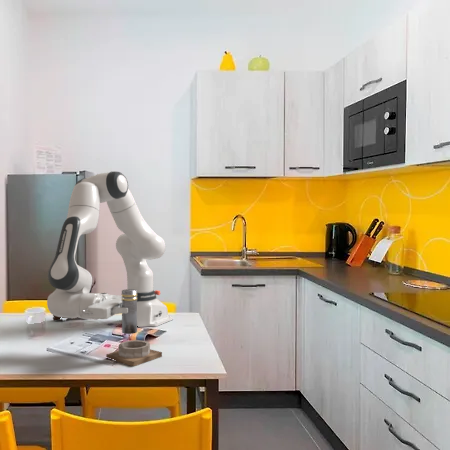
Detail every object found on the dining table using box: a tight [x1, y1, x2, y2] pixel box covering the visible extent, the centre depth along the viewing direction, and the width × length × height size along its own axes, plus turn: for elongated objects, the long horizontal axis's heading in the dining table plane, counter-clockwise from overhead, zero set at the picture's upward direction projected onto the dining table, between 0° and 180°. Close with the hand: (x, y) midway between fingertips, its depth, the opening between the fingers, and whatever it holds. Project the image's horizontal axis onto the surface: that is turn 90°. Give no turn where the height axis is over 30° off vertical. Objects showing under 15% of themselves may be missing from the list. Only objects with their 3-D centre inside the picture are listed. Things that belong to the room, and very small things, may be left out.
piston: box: [120, 289, 138, 335], centre depth 168 cm, size 5×5×14 cm
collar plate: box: [106, 339, 163, 368], centre depth 168 cm, size 13×13×4 cm
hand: (132, 308), depth 167 cm, fingers closed on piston, 5 cm apart
